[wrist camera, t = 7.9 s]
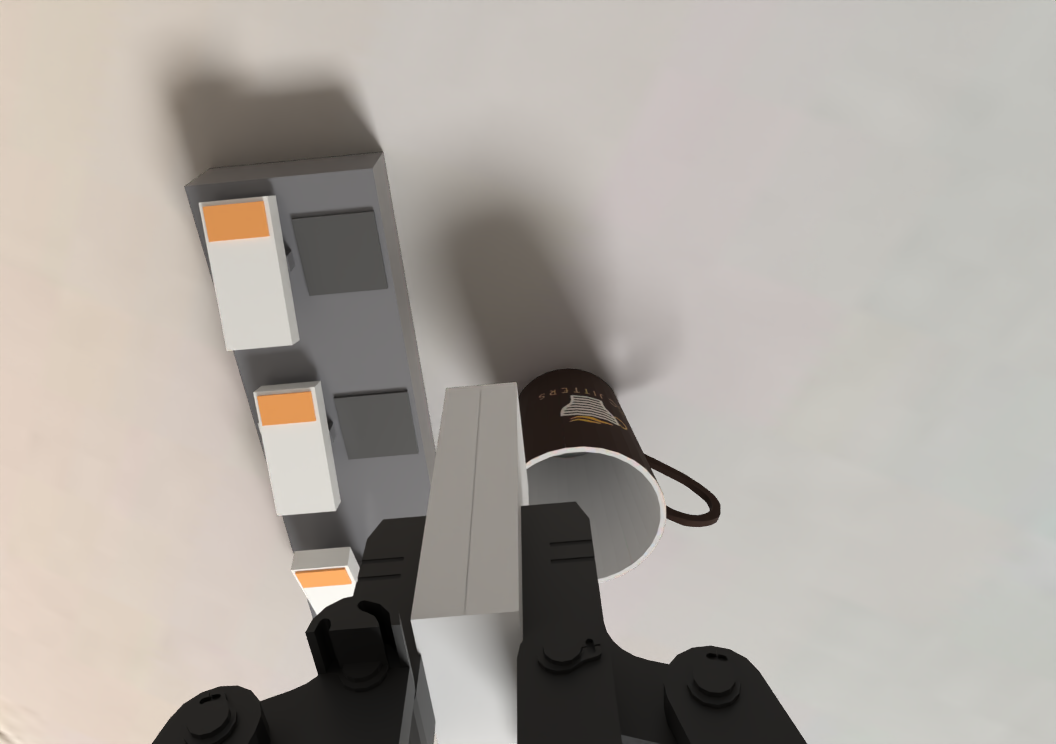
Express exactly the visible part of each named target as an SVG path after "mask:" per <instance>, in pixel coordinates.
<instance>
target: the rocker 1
mask: <svg viewBox="0 0 1056 744" xmlns="http://www.w3.org/2000/svg"><path fill="white" fill-rule="evenodd" d="M199 208H200V213H201V218H202V224H203V229H204V234H205V240H206V245H207V250H208V255H209V261H210V266H211V271H212V276H213V282H214V287H215V292H216V298H217V303H218V308H219V313H220V319H221V324H222V329H223V335H224V340H225V345H226V350H227V351H233V350H244V349H255V348H266V347H277V346H288V345H293V344H295V343H296V342H298V341H299V340H300V339H299V333H298V327H297V321H296V315H295V309H294V303H293V297H292V291H291V285H290V279H289V273H288V267H287V261H286V255H285V249H284V243H283V237H282V231H281V225H280V219H279V213H278V207H277V201H276V195H275V196H263V197H252V198H242V199H231V200H221V201H210V202H200V203H199Z"/></svg>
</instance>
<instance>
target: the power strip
mask: <svg viewBox="0 0 1056 744" xmlns="http://www.w3.org/2000/svg"><path fill="white" fill-rule="evenodd" d="M184 187H185V190H186V193H187V197H188V200H189V204H190V207H191V210H192V214H193V217H194V220H195V224H196V227H197V230H198V234H199V237H200V241H201V244H202V247H203V251H204V254H205V257H206V261H207V264H208V267H209V271H210V274H211V277H212V281H213V276H212V271H211V266H210V261H209V255H208V250H207V245H206V240H205V234H204V229H203V224H202V218H201V213H200V208H199V203H200V202H210V201H221V200H231V199H242V198H252V197H263V196H275V195H276V201H277V207H278V213H279V219H280V225H281V231H282V237H283V243H284V249H285V255H286V261H287V267H288V273H289V279H290V285H291V291H292V297H293V303H294V309H295V315H296V321H297V327H298V333H299V339H300V340H299V341H298V342H296V343H295V344H293V345H288V346H277V347H266V348H255V349H244V350H233V351H234V355H235V358H236V361H237V365H238V368H239V372H240V375H241V378H242V382H243V385H244V388H245V392H246V395H247V398H248V402H249V405H250V409H251V412H252V415H253V419H254V422H255V425H256V429H257V432H258V435H259V439H260V442H261V445H262V449H263V452H264V456H265V451H264V445H263V440H262V435H261V430H260V425H259V420H258V414H257V409H256V404H255V399H254V394H253V392H254V391H256V390H257V389H258V388H259V387H260V386H266V385H277V384H289V383H300V382H311V381H321V387H322V393H323V399H324V405H325V411H326V417H327V423H328V429H329V435H330V440H331V446H332V452H333V458H334V464H335V470H336V476H337V482H338V488H339V494H340V500H341V502H340V504H339V506H338V508H337V509H336V511H330V512H318V513H306V514H294V515H282V516H283V519H284V523H285V526H286V529H287V533H288V536H289V540H290V543H291V546H292V550H293V553H294V551H304V550H317V549H329V548H341V547H350V548H351V550H352V552H353V554H354V556H355V559H356V561H357V563H358V565H359V567H360V565H361V564H362V557H363V553H364V549H365V545H366V541H367V538H368V537H369V536H370V535H371V534H372V532H373V531H374V530H375V529H376V527H377V526H378V525H379V524H380V522H381V521H382V520H383V519H393V518H405V517H417V516H427V509H428V503H429V496H430V490H431V483H432V477H433V470H434V464H435V457H436V451H435V445H434V439H433V434H432V428H431V422H430V416H429V411H428V405H427V399H426V393H425V388H424V382H423V376H422V371H421V365H420V359H419V353H418V348H417V342H416V336H415V330H414V325H413V319H412V313H411V308H410V302H409V296H408V290H407V285H406V279H405V273H404V267H403V262H402V256H401V250H400V244H399V239H398V233H397V227H396V222H395V216H394V210H393V204H392V199H391V193H390V187H389V181H388V176H387V170H386V164H385V159H384V153H383V152H377V153H367V154H356V155H346V156H336V157H325V158H315V159H304V160H294V161H284V162H273V163H263V164H253V165H242V166H232V167H222V168H211V169H208V170H207V171H205V172H204V173H203V174H201V175H200V176H198V177H197V178H195V179H194V180H193V181H191V182H190V183H188V184H187V185H186V186H184ZM213 284H214V282H213ZM214 288H215V287H214ZM265 459H266V456H265ZM266 462H267V461H266ZM307 600H308V599H307ZM308 603H309V607H310V610H311V613H312V617H313V618H314V617H315V616H317V614H316V612H315V611H314V609H313V607H312V605H311V604H310V602H309V600H308Z"/></svg>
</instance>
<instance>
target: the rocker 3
mask: <svg viewBox="0 0 1056 744" xmlns="http://www.w3.org/2000/svg"><path fill="white" fill-rule="evenodd" d="M359 569H360V567H359V565H358V563H357V561H356V559H355V556H354V554H353V552H352V550H351V548H350V547H341V548H329V549H317V550H304V551H294V557H293V562H292V567H291V571H292V573H293V574H294V576H295V578H296V580H297V581H298V583H299V585H300V587H301V588H302V590H303V592H304V593H305V595H306V597H307V599H308V600H309V602H310V604H311V605H312V607H313V609H314V611H315V612H316V614H317V615H318V614H319V613H320V612H321V611H322V610H323V609H324V608H325V607H327V606H329V605H331V604H333V603H335V602H337V601H339V600H341V599H343V598H347V597H351V596H353V593H354V589H355V585H356V582H358V578H357V577H358V573H359Z"/></svg>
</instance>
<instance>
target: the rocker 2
mask: <svg viewBox="0 0 1056 744" xmlns="http://www.w3.org/2000/svg"><path fill="white" fill-rule="evenodd" d="M253 394H254V399H255V404H256V409H257V414H258V420H259V425H260V430H261V435H262V440H263V445H264V451H265V456H266V461H267V466H268V471H269V477H270V482H271V487H272V492H273V497H274V503H275V508H276V513H277V516H282V515H294V514H306V513H318V512H330V511H336V509H337V508H338V506H339V504H340V502H341V500H340V494H339V488H338V482H337V476H336V470H335V464H334V458H333V452H332V446H331V440H330V435H329V429H328V423H327V417H326V411H325V405H324V399H323V393H322V387H321V381H311V382H300V383H289V384H277V385H266V386H260V387H259V388H258V389H257V390H256V391H254V392H253Z"/></svg>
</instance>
